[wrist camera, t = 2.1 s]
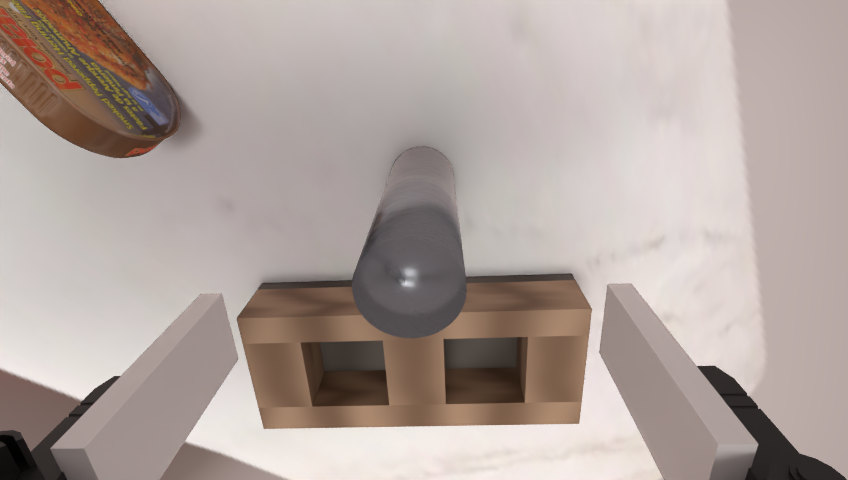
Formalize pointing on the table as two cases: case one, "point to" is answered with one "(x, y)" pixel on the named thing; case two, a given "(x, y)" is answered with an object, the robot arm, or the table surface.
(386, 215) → the pin
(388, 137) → the table surface
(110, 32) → the tin
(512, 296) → the bore block
